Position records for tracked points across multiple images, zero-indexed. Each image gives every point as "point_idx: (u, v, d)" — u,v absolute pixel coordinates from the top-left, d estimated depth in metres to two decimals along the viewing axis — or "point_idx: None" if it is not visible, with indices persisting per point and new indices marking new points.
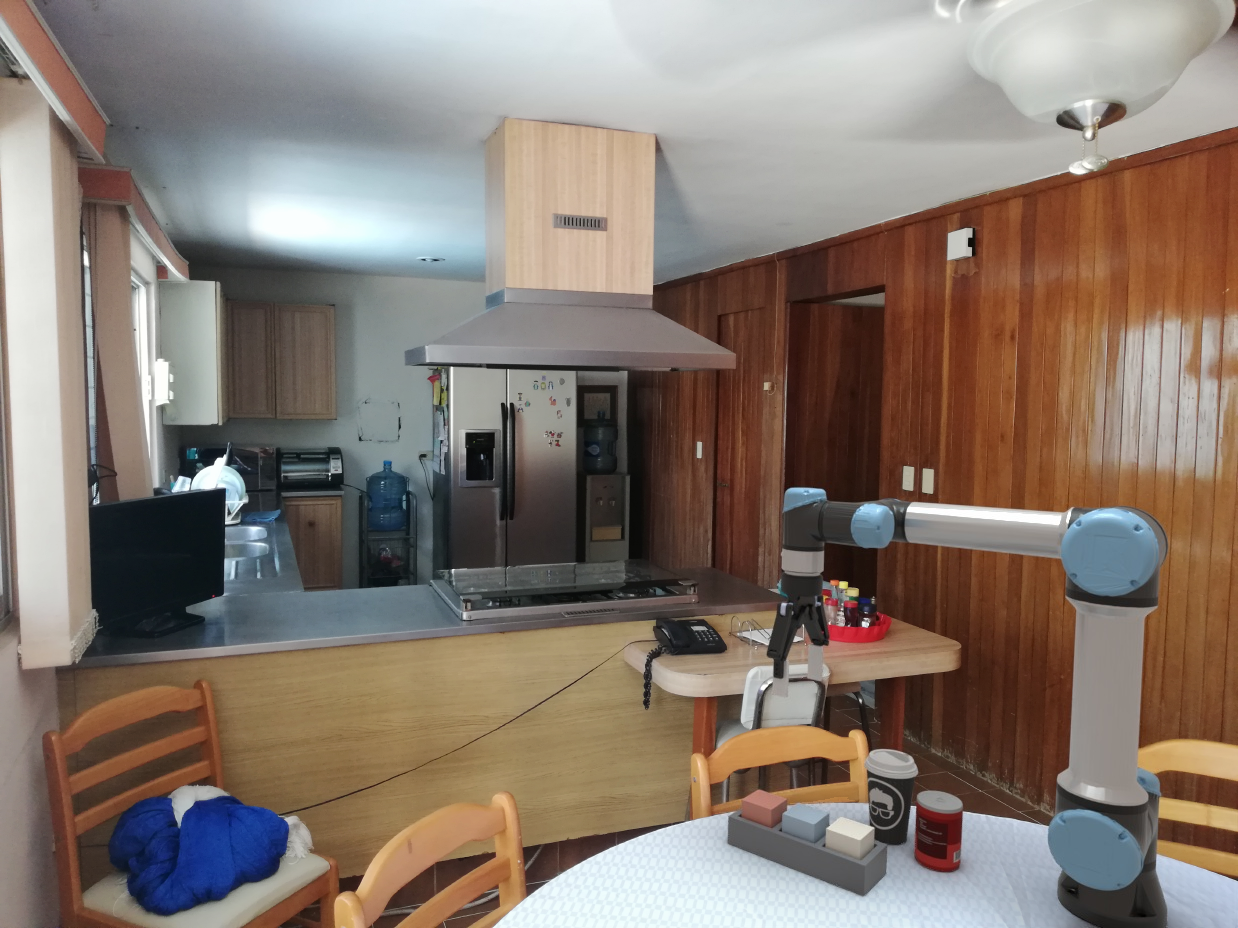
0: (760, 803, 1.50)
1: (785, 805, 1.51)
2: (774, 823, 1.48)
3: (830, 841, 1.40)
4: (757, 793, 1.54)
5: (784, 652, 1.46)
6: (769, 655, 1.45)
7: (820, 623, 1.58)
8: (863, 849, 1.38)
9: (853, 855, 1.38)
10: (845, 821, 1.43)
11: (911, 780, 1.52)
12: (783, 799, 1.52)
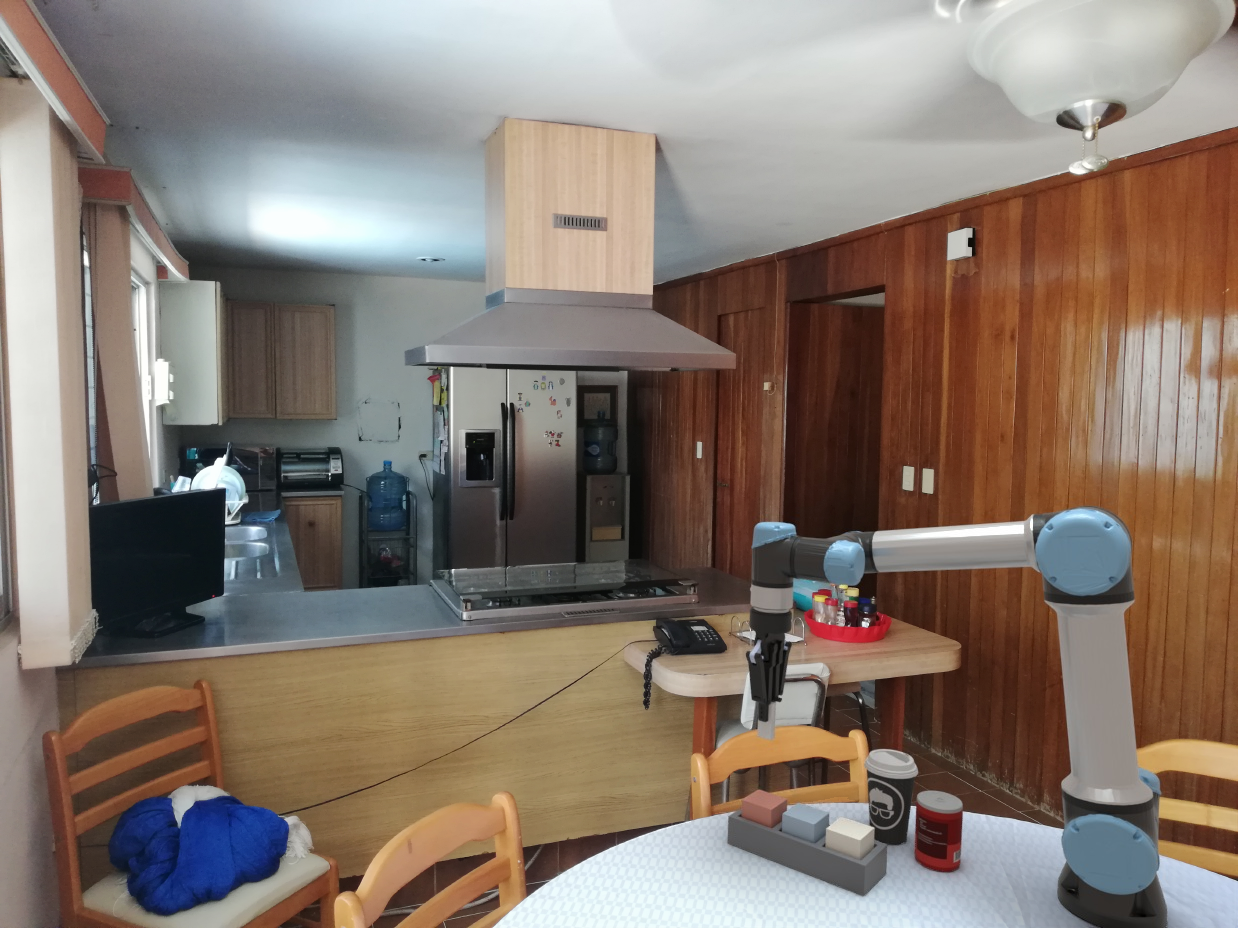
0: (760, 803, 1.50)
1: (785, 805, 1.51)
2: (774, 823, 1.48)
3: (830, 841, 1.40)
4: (757, 793, 1.54)
5: (767, 698, 1.49)
6: (754, 699, 1.48)
7: (779, 672, 1.53)
8: (863, 849, 1.38)
9: (853, 855, 1.38)
10: (845, 821, 1.43)
11: (911, 780, 1.52)
12: (783, 799, 1.52)
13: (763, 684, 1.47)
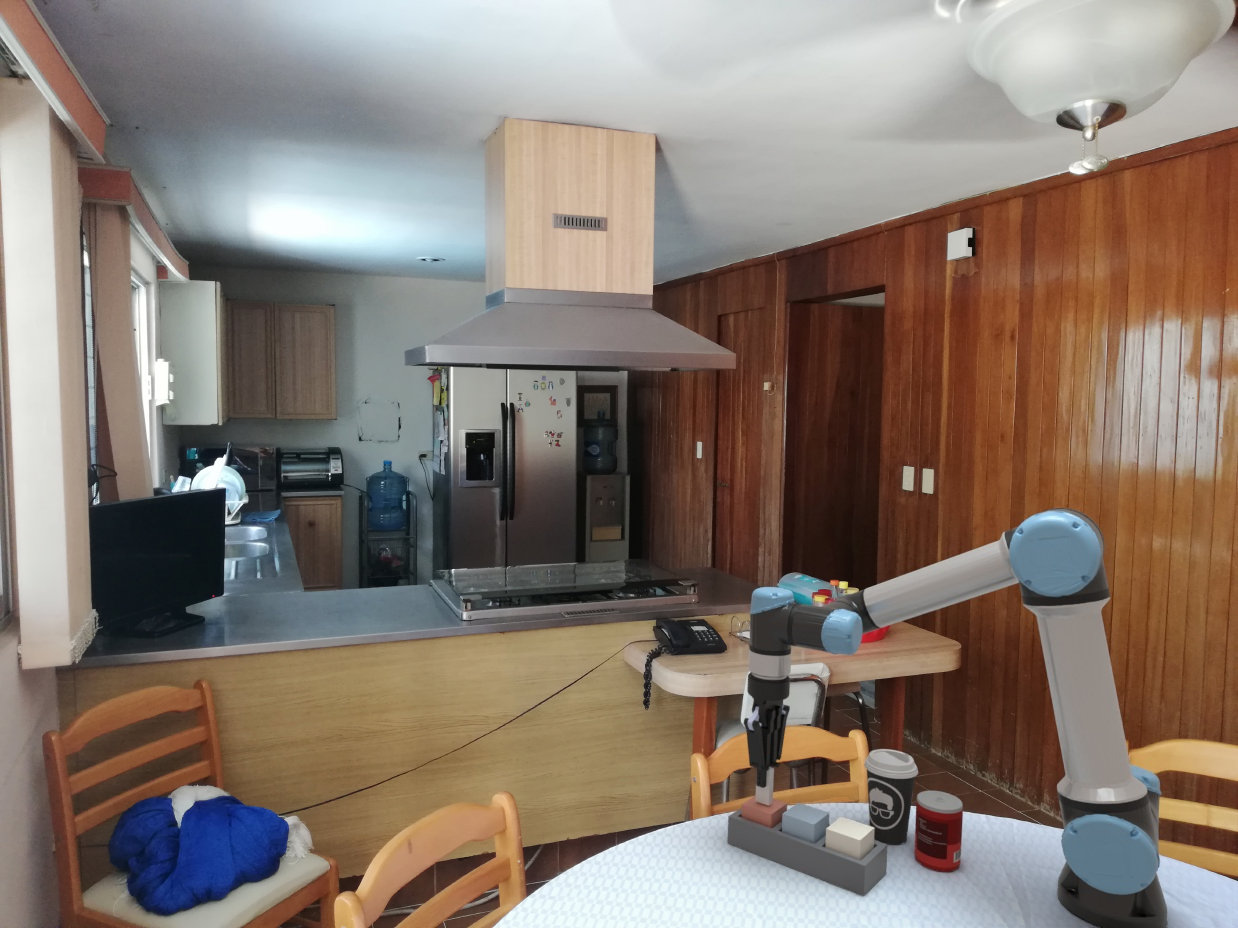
0: (760, 807, 1.50)
1: (785, 809, 1.51)
2: None
3: (830, 841, 1.40)
4: None
5: (765, 764, 1.49)
6: (752, 765, 1.49)
7: (777, 736, 1.53)
8: (863, 849, 1.38)
9: (853, 855, 1.38)
10: (845, 821, 1.43)
11: (911, 780, 1.52)
12: (783, 803, 1.52)
13: (761, 751, 1.47)
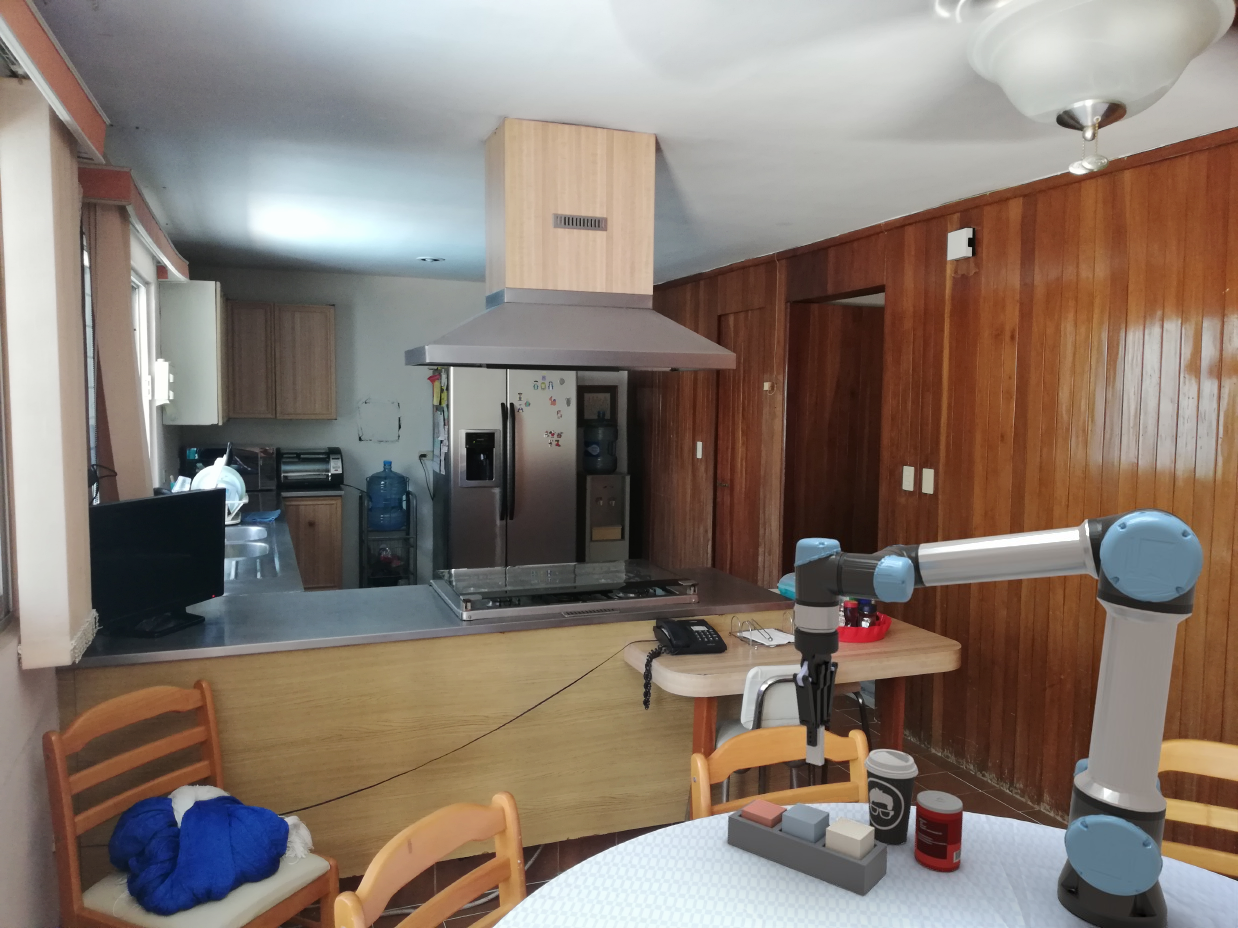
0: (760, 812, 1.50)
1: None
2: None
3: (830, 841, 1.40)
4: (757, 802, 1.54)
5: (816, 721, 1.43)
6: (802, 723, 1.43)
7: (826, 694, 1.47)
8: (863, 849, 1.38)
9: (853, 855, 1.38)
10: (845, 821, 1.43)
11: (911, 780, 1.52)
12: (783, 808, 1.52)
13: (811, 707, 1.41)
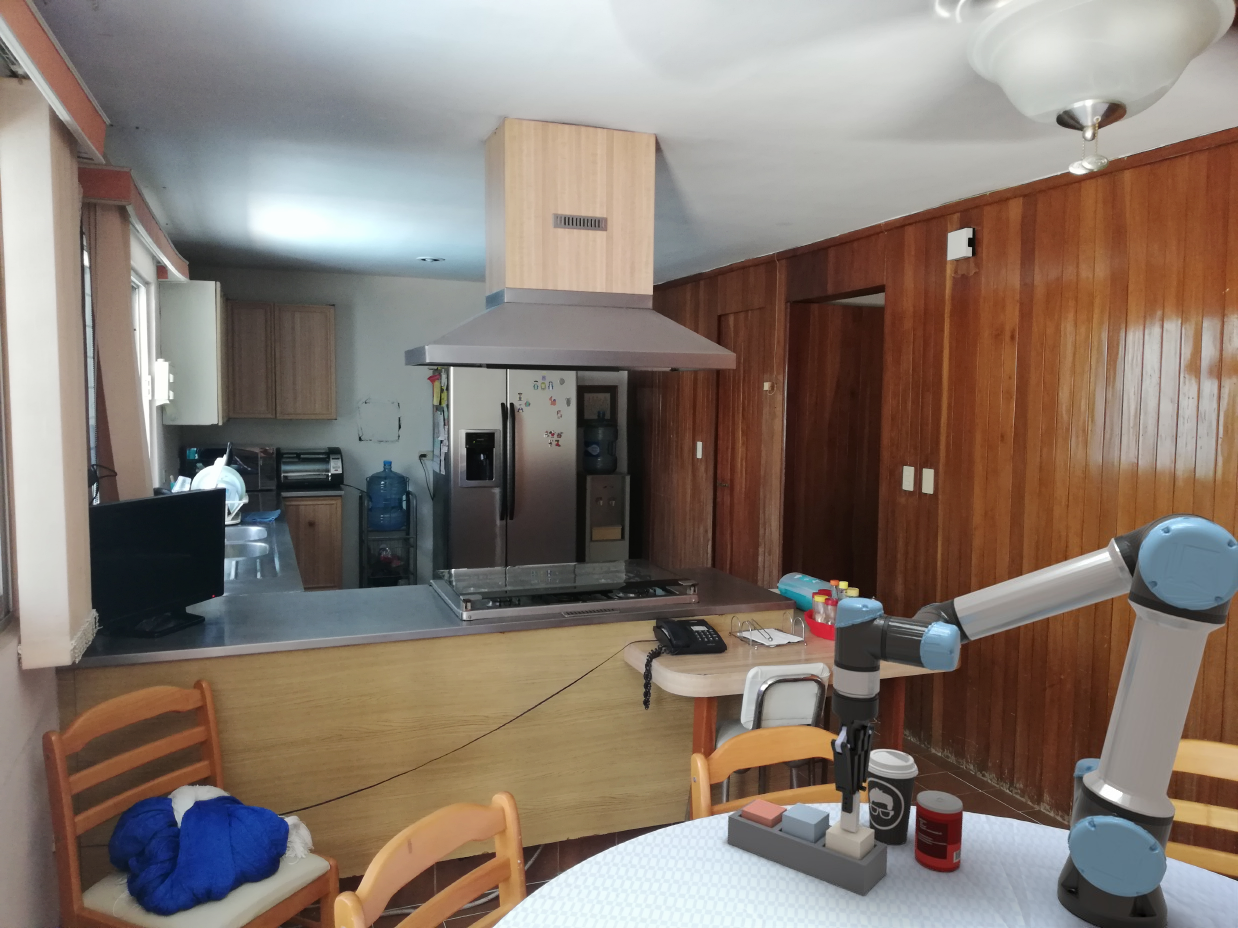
0: (760, 812, 1.50)
1: None
2: None
3: (830, 843, 1.40)
4: (757, 802, 1.54)
5: (852, 788, 1.39)
6: (838, 789, 1.38)
7: None
8: (862, 851, 1.38)
9: (853, 857, 1.38)
10: None
11: (911, 780, 1.52)
12: (783, 808, 1.52)
13: (849, 774, 1.37)
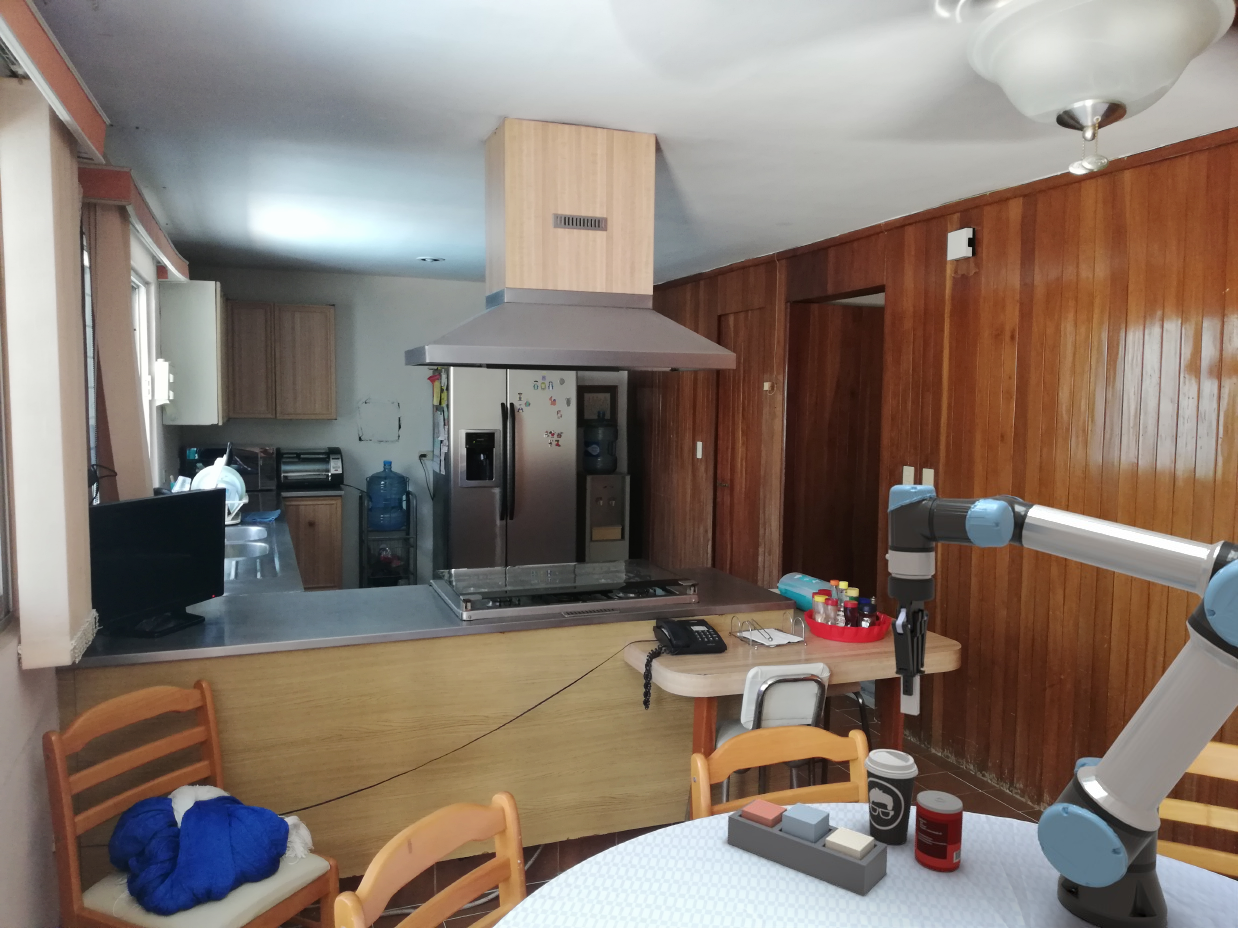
0: (760, 812, 1.50)
1: None
2: None
3: None
4: (757, 802, 1.54)
5: (913, 670, 1.40)
6: (899, 672, 1.40)
7: None
8: None
9: None
10: (845, 831, 1.44)
11: (911, 780, 1.52)
12: (783, 808, 1.52)
13: (910, 655, 1.39)
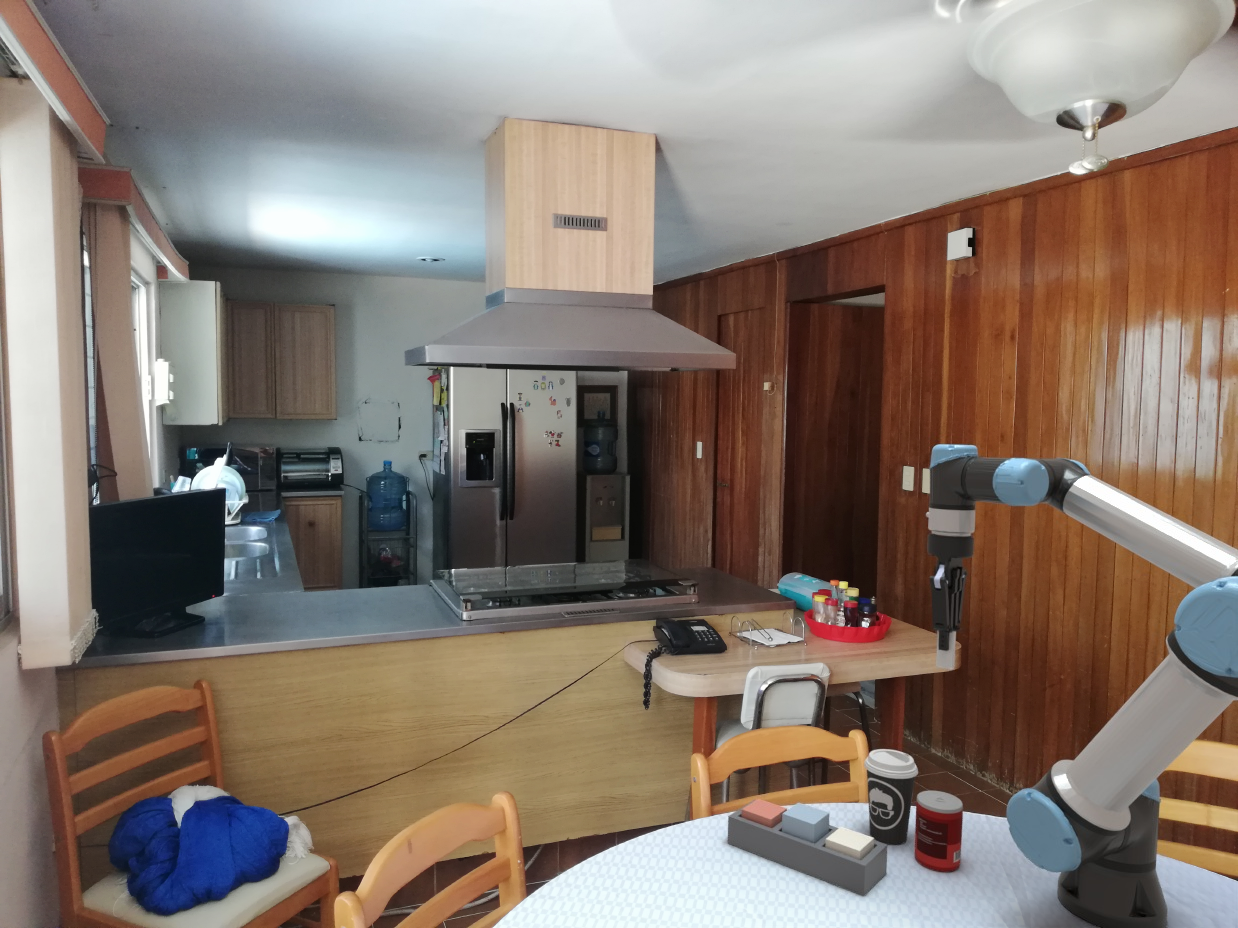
0: (760, 812, 1.50)
1: None
2: None
3: None
4: (757, 802, 1.54)
5: (949, 625, 1.43)
6: (936, 626, 1.43)
7: None
8: None
9: None
10: (845, 831, 1.44)
11: (911, 780, 1.52)
12: (783, 808, 1.52)
13: (947, 610, 1.41)
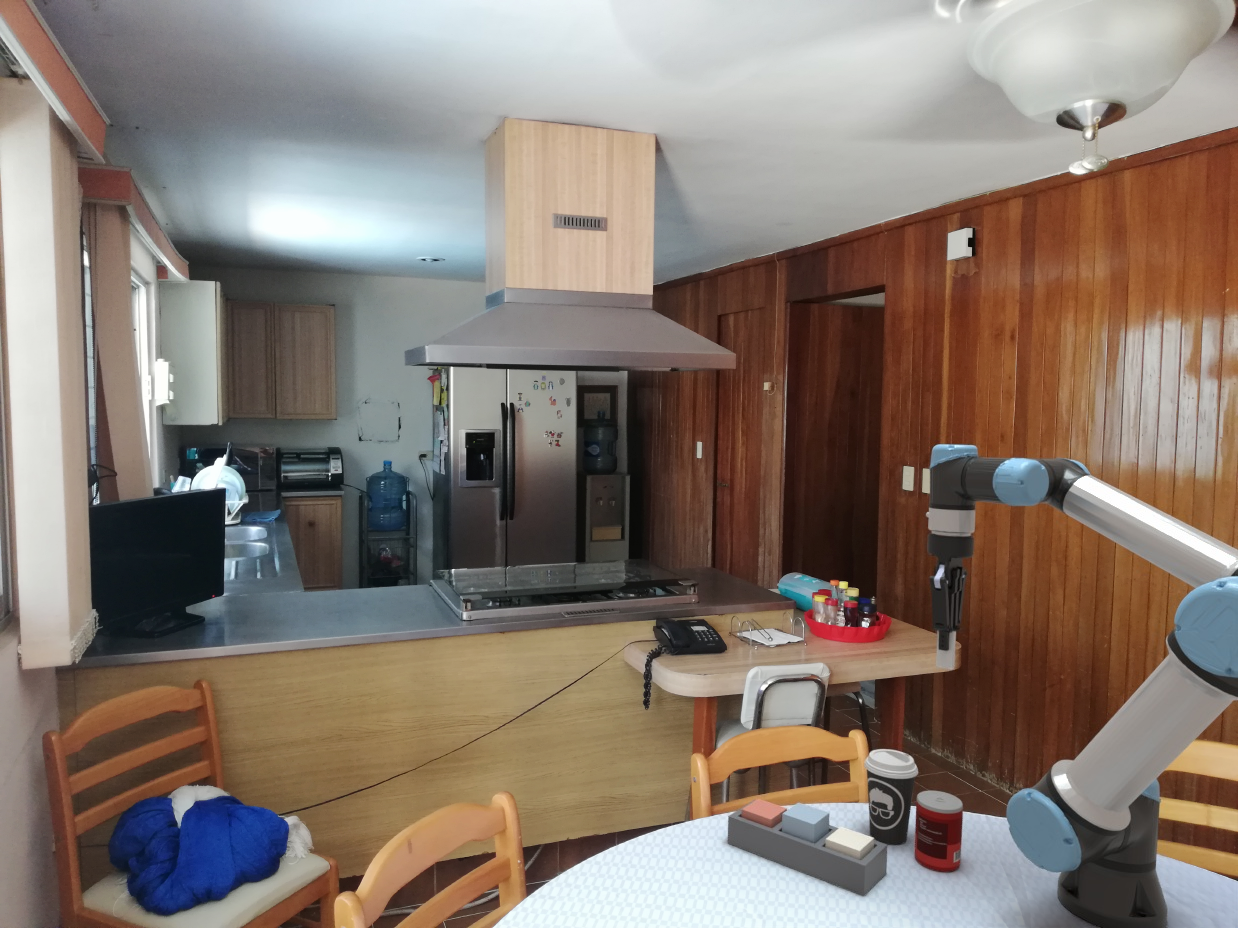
0: (760, 812, 1.50)
1: None
2: None
3: None
4: (757, 802, 1.54)
5: (949, 625, 1.43)
6: (936, 626, 1.43)
7: None
8: None
9: None
10: (845, 831, 1.44)
11: (911, 780, 1.52)
12: (783, 808, 1.52)
13: (947, 610, 1.41)
